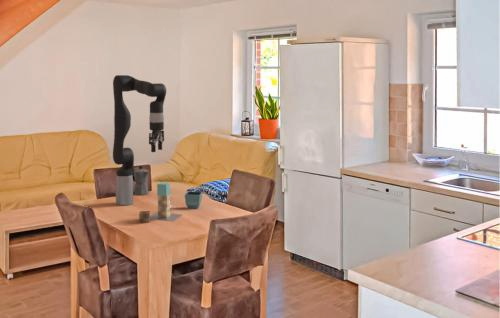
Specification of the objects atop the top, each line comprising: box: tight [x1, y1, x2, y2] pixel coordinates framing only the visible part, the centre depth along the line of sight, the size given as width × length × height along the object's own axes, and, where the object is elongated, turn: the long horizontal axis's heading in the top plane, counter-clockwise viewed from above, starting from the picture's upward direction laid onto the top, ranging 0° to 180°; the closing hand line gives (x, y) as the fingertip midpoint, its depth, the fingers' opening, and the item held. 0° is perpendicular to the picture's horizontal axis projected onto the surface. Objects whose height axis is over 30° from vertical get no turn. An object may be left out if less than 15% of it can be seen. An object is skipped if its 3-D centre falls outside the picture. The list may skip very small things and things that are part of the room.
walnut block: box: [138, 210, 151, 224], centre depth 282 cm, size 5×5×6 cm
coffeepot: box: [133, 165, 150, 196], centre depth 352 cm, size 15×9×18 cm, turn 54°
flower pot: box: [184, 191, 203, 210], centre depth 314 cm, size 9×9×9 cm
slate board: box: [150, 212, 183, 222], centre depth 291 cm, size 16×14×1 cm
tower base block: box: [157, 204, 171, 218], centre depth 291 cm, size 5×5×6 cm
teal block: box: [156, 182, 171, 196], centre depth 289 cm, size 5×5×6 cm
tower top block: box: [157, 193, 171, 208], centre depth 290 cm, size 5×5×6 cm
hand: (156, 150), depth 297 cm, fingers open, 8 cm apart
